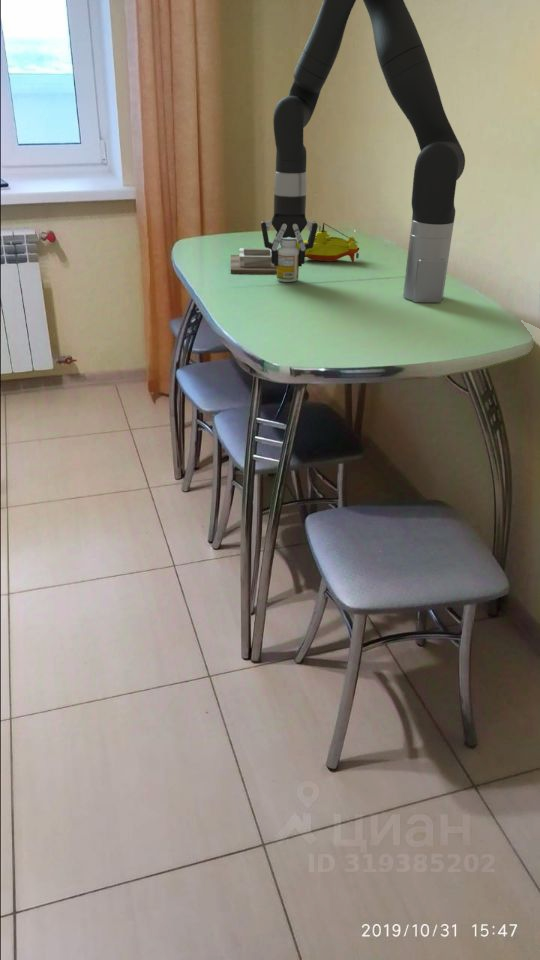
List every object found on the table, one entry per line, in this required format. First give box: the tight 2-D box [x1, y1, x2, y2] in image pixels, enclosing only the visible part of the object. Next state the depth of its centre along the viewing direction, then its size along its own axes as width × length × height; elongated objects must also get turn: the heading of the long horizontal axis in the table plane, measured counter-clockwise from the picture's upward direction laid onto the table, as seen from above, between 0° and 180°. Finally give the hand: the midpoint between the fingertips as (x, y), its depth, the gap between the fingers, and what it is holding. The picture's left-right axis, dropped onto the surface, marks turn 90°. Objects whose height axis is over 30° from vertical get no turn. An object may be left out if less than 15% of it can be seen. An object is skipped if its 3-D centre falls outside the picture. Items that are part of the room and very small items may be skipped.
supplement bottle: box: [276, 237, 300, 283], centre depth 176 cm, size 5×5×10 cm
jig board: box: [230, 247, 277, 275], centre depth 190 cm, size 16×14×4 cm
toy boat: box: [296, 222, 360, 262], centre depth 195 cm, size 6×18×10 cm, turn 89°
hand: (287, 265), depth 177 cm, fingers closed on supplement bottle, 5 cm apart
